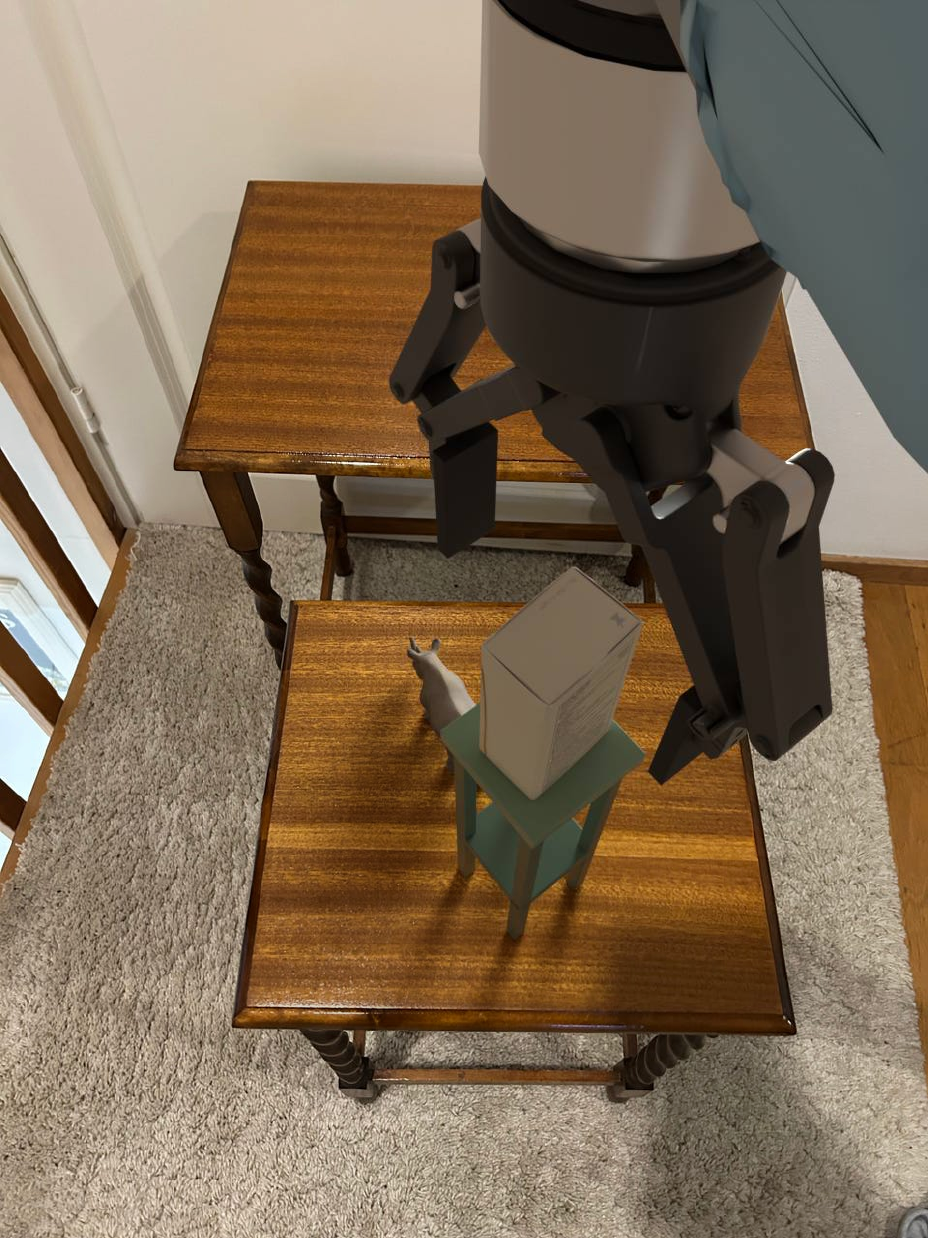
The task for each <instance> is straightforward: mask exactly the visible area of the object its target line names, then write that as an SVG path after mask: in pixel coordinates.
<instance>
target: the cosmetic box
mask: <svg viewBox="0 0 928 1238" xmlns="http://www.w3.org/2000/svg"><path fill="white" fill-rule="evenodd" d="M643 626H644V620H642V619H641V618H640V617H638V616H637V615H636V614H635V612H633V611H632V610H631V609H629V607H627V606H626V605H624V603H623V602H621V601H619V600H618V599H617V598H616V597H615V596H614V595H613V594H611V593H610V592H609V591H608V590H606V589H605V588H604V587H603V586H601V584H599V583H597V581H595V580H594V579H593V578H591V577H590V576H589V575H587V574H586V573H585V572H584V571H582V570H581V569H580V568H578V567H576V566H571V567H569V569H567V570H566V571H564V572H563V573H562V574H561V575H560V576H558V577H557V578H555V579H554V580H553V581H552V582H551V583H550V584H548V585H547V586H546V587H545V588H543V590H541V591H540V592H539V593H538V594H536V595H535V596H534V597H533V598H532V599H531V600H529V601H528V602H527V603H526V604H525V605H524V606H523V607H521V608H520V609H519V610H518V611H517V612H515V613H514V614H513V615H512V616H511V617H510V618H509V619H507V621H506V622H504V623H503V624H502V625H500V627H499V628H498V629H496V631H494V632H492V633H491V635H490V636H489V637H487V639H486V640H484V641H483V642H482V644H481V645H480V647H481V649H480V653H481V654H480V655H481V656H480V659H481V661H480V692H479V693H480V694H479V695H480V698H479V703H480V736H479V748H480V750H481V751H482V752H483V753H484V754H485V755H486V756H487V757H488V758H489V759H490V760H491V761H492V763H493V764H494V765H495V766H496V767H497V768H498V769H499V770H500V771H501V772H502V773H503V774H504V775H506V776H507V777H508V778H509V779H510V780H511V781H512V782H513V783H514V784H515V785H516V786H517V787H518V788H519V789H520V790H521V791H522V792H523V793H524V794H525V795H526V796H527V797H528V798H529V799H531V800H535V799H537V798H538V797H539V796H540V795H541V794H542V793H544V792H545V791H546V790H547V789H548V788H549V787H550V786H551V785H552V784H554V783H555V782H556V781H557V780H558V779H559V778H560V777H561V776H562V775H563V774H564V773H565V772H566V771H568V770H569V769H570V768H571V767H572V766H573V765H574V764H575V763H576V762H577V761H578V760H579V759H580V758H581V757H582V756H584V755H585V754H586V753H587V752H588V751H589V750H590V749H591V748H592V747H593V746H594V745H595V744H596V743H597V742H598V741H599V740H600V739H601V738H602V737H603V736H604V735H605V734H606V733H607V732H608V730H609V728H610V725H611V722H612V719H613V720H614V715H615V713H616V709H617V706H618V703H619V700H620V697H621V695H622V691H623V688H624V685H625V683H626V678H627V675H628V672H629V669H630V666H631V663H632V660H633V657H634V653H635V650H636V647H637V644H638V641H639V638H640V635H641V632H642V628H643Z"/></svg>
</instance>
